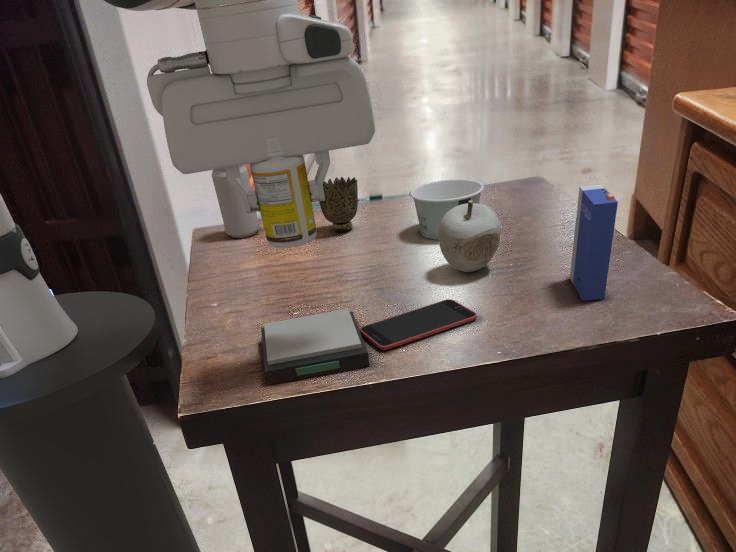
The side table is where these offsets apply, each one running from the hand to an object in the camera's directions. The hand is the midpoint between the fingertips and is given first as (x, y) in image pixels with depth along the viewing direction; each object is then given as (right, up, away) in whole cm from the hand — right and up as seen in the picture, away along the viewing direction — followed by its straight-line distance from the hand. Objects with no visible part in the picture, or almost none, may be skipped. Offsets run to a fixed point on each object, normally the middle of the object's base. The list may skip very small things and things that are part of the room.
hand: (286, 205), depth 64 cm
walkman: (+37, -3, +17) cm, 41 cm away
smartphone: (+15, -9, +13) cm, 22 cm away
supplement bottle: (0, -3, +3) cm, 4 cm away
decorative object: (+23, +3, +26) cm, 35 cm away
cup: (+3, +18, +47) cm, 50 cm away
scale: (+2, -13, +11) cm, 17 cm away
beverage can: (-16, +19, +52) cm, 57 cm away
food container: (+22, +15, +40) cm, 48 cm away
